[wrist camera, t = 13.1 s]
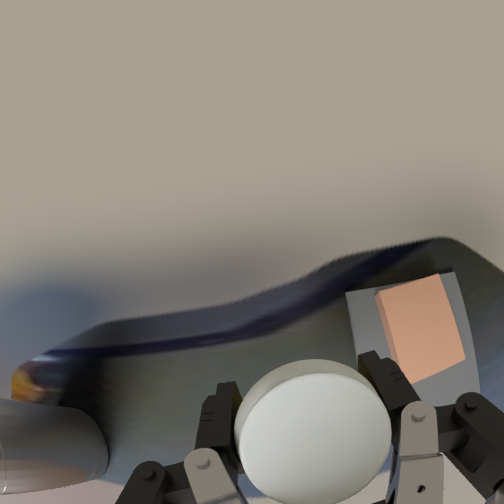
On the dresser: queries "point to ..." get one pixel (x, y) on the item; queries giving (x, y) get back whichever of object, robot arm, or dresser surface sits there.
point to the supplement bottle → (312, 433)
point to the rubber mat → (373, 338)
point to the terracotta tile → (420, 327)
